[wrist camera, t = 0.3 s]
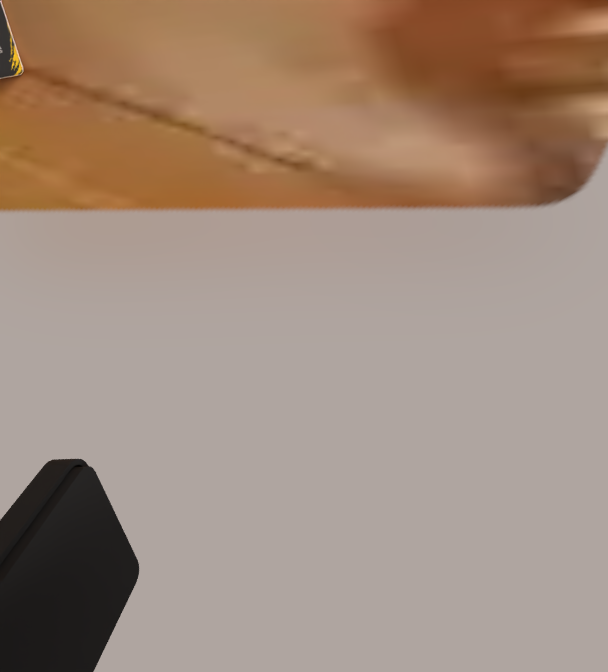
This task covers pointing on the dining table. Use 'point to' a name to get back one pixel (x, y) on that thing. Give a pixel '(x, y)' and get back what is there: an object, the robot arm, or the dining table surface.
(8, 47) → the medicine bottle
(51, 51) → the dining table surface
